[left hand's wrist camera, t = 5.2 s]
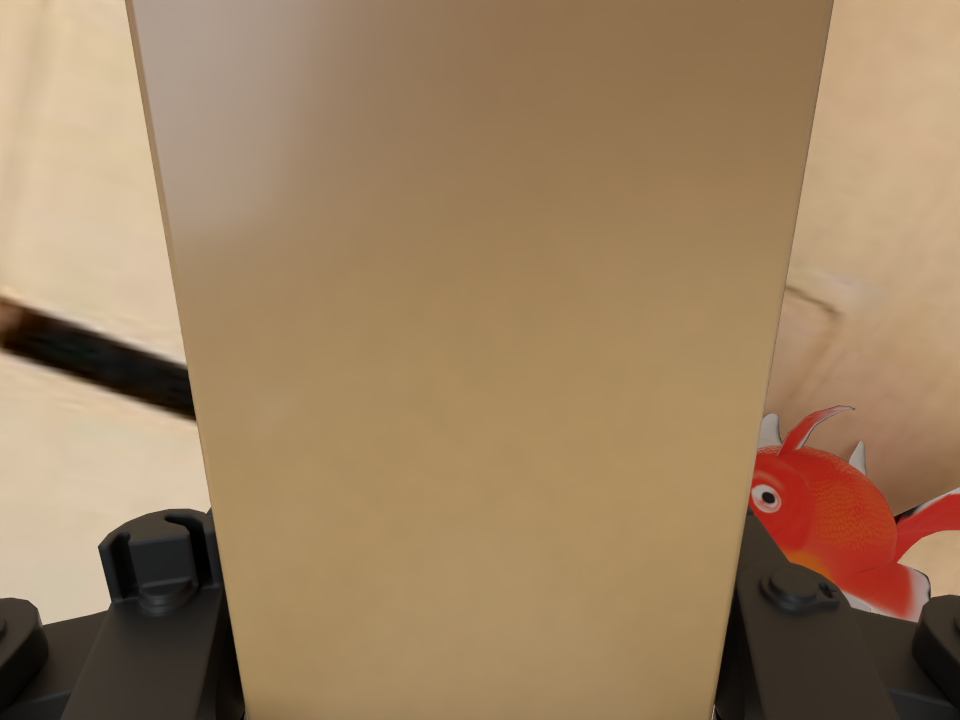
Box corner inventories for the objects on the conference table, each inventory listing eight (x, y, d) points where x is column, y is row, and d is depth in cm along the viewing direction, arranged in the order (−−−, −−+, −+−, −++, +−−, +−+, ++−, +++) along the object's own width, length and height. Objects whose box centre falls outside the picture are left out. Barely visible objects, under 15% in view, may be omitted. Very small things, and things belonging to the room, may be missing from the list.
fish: (842, 262, 20) (1088, 558, 14) (1010, 375, 29) (1210, 591, 23) (614, 440, 26) (715, 702, 20) (808, 490, 35) (922, 685, 29)
